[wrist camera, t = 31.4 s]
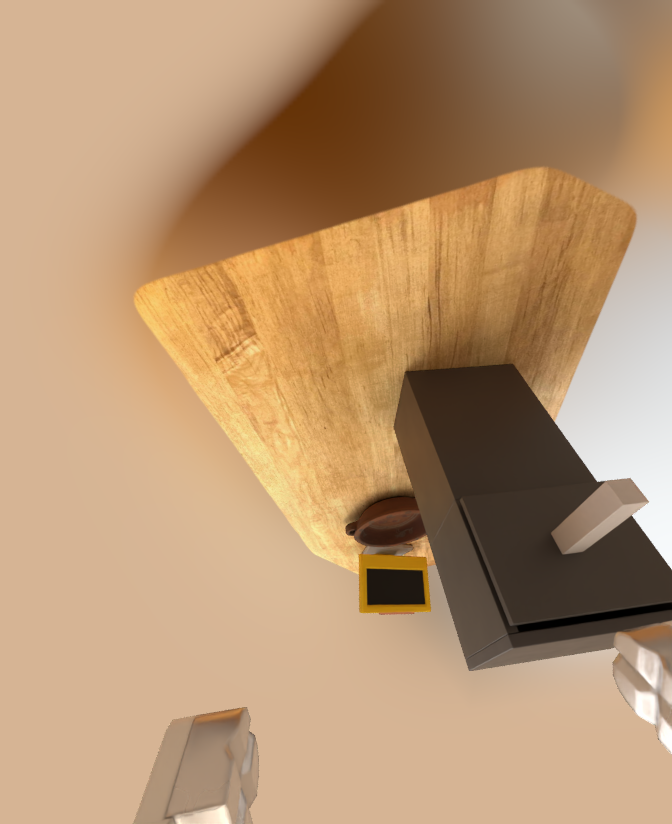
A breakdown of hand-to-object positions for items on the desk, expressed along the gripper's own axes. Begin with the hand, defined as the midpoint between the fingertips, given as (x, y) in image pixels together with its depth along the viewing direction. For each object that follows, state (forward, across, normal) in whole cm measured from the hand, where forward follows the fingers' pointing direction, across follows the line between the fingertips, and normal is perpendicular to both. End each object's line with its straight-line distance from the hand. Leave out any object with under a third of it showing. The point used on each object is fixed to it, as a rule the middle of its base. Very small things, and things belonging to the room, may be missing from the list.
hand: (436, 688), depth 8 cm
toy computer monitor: (+79, +10, -52) cm, 96 cm away
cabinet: (+47, +19, -5) cm, 51 cm away
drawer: (+27, +19, -12) cm, 35 cm away
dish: (+67, +11, -34) cm, 76 cm away
